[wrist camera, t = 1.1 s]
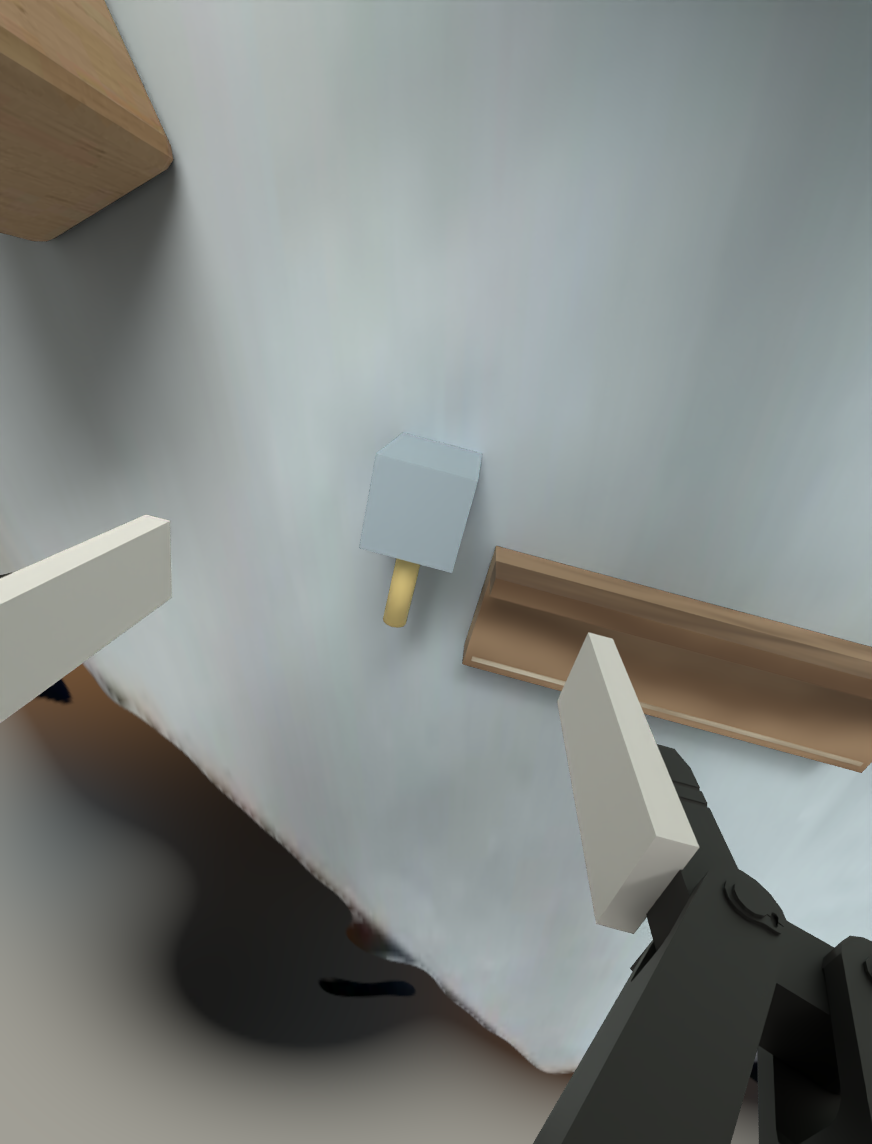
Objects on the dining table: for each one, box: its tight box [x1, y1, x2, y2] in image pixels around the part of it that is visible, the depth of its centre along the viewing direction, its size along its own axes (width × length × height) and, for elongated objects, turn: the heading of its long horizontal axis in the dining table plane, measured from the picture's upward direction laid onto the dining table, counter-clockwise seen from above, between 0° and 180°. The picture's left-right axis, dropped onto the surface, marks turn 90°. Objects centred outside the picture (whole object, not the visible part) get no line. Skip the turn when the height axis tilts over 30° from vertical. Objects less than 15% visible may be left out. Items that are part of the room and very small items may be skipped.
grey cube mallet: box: [359, 433, 482, 627], centre depth 27 cm, size 10×5×7 cm, turn 166°
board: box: [462, 546, 872, 773], centre depth 30 cm, size 8×28×5 cm, turn 76°
